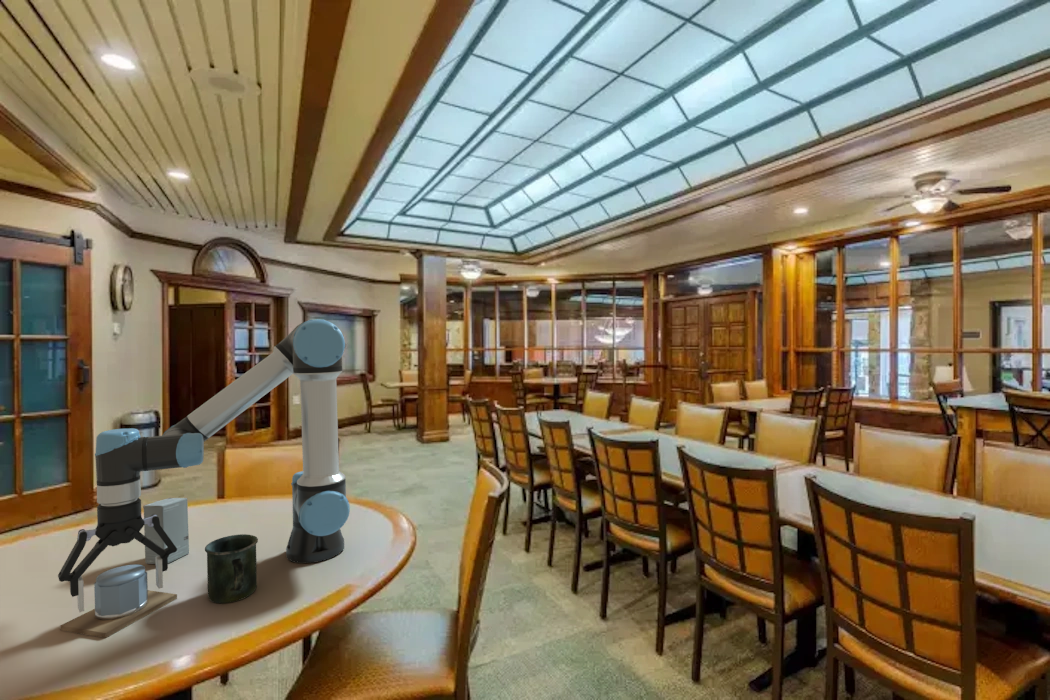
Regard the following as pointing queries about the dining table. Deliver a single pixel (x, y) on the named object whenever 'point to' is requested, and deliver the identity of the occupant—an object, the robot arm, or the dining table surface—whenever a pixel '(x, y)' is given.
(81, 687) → the dining table surface
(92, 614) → the base board
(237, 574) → the mug
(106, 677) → the dining table surface
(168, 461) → the robot arm
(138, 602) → the cap
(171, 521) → the skincare box
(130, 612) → the stud
